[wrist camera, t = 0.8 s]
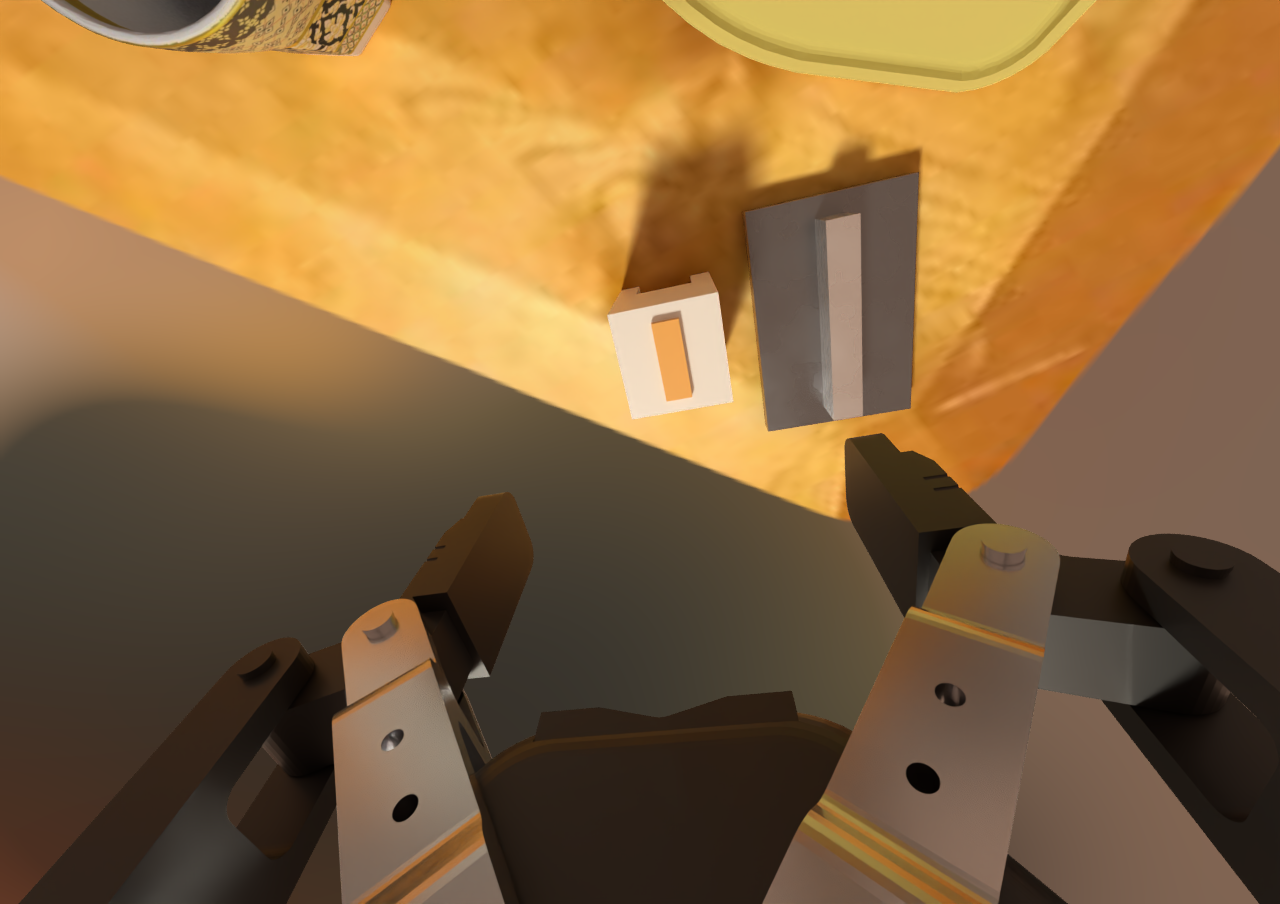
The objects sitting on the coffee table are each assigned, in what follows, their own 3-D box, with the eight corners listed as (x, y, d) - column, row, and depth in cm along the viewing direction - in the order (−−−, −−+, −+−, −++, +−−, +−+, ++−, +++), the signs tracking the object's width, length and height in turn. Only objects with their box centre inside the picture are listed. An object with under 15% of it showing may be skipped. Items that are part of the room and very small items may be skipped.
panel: (742, 211, 25) (750, 213, 22) (909, 173, 24) (939, 169, 21) (765, 424, 30) (774, 446, 27) (903, 402, 29) (926, 422, 26)
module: (621, 290, 27) (606, 316, 21) (708, 271, 26) (718, 293, 20) (640, 375, 29) (631, 421, 23) (721, 360, 28) (733, 404, 22)
